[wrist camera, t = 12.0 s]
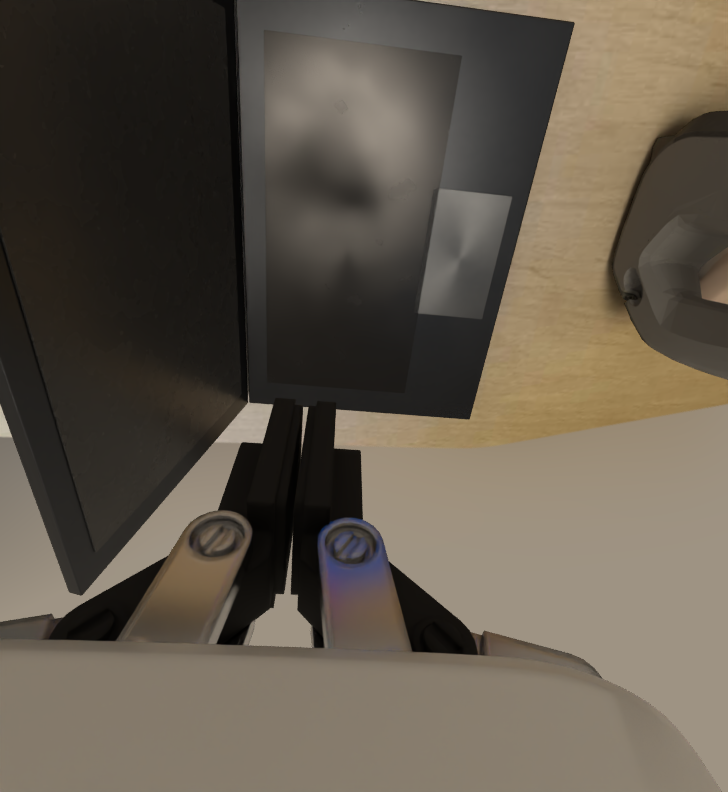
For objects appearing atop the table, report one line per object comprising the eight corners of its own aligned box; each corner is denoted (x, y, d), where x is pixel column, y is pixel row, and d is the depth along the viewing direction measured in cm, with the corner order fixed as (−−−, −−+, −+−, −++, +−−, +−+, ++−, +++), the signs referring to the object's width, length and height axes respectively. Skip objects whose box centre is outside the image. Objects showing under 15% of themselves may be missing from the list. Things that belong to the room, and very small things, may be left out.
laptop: (563, 27, 30) (576, 21, 28) (465, 409, 45) (469, 420, 43) (241, -17, 28) (234, -26, 27) (253, 393, 43) (249, 403, 42)
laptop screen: (-247, -365, 9) (-283, -364, 9) (83, 596, 24) (68, 592, 24) (235, -25, 27) (220, -27, 27) (249, 402, 42) (240, 401, 42)
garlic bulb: (669, 237, 37) (651, 324, 41) (710, 267, 32) (684, 362, 36) (761, 223, 35) (732, 314, 40) (820, 252, 30) (778, 352, 35)
